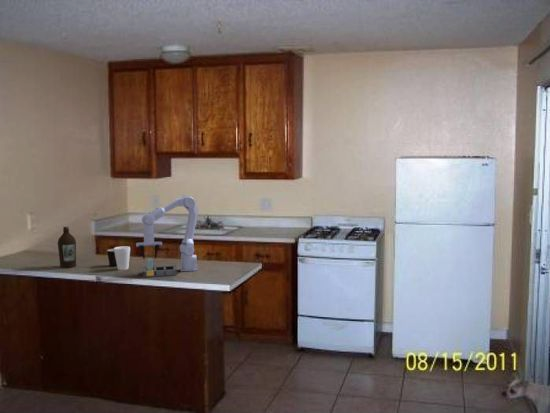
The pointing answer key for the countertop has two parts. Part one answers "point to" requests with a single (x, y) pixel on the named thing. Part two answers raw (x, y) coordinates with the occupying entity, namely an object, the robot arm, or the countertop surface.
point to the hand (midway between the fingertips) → (149, 258)
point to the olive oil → (67, 249)
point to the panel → (150, 264)
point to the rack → (160, 271)
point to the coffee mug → (112, 258)
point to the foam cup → (122, 257)
